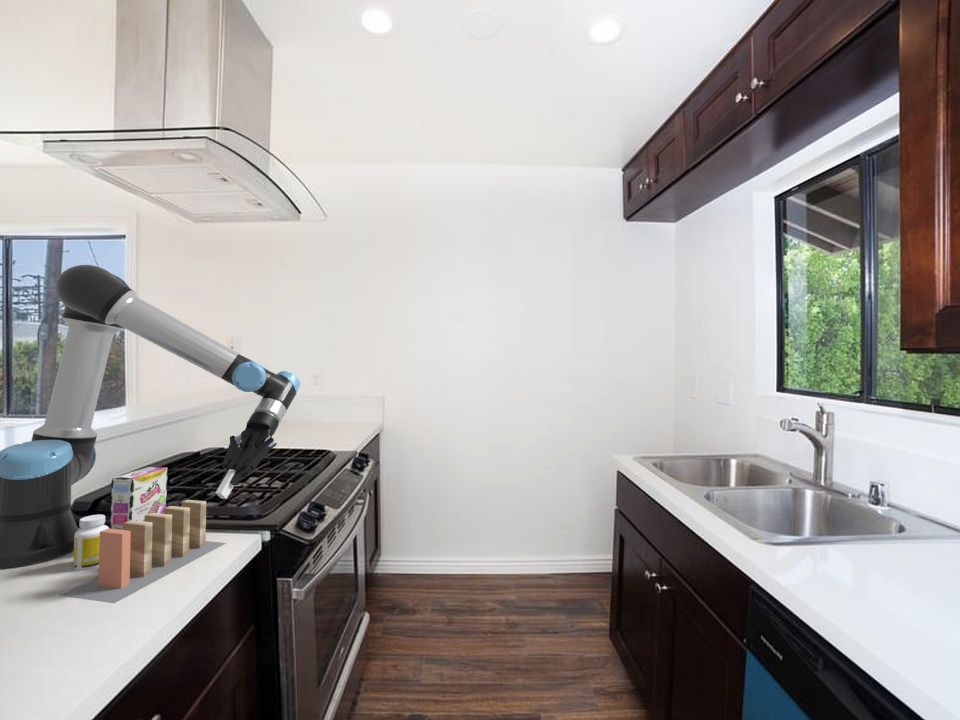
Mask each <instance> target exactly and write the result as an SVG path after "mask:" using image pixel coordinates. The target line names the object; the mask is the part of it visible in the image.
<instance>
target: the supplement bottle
mask: <svg viewBox="0 0 960 720" xmlns="http://www.w3.org/2000/svg"><path fill="white" fill-rule="evenodd" d="M105 523H106V516H105V514H92V515H88V516H87V515H86V516H84V517H82V518H80V519H79V526H78V527H79V528H80V529H79V528H78V531H77V532H76V533H75V536H74V550H73V569H74V570H76V571H88V570H92V569H96V568H99V547H100V531H103V530H106V529H110V527H109V526H108V525H106V524H105Z"/></svg>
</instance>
